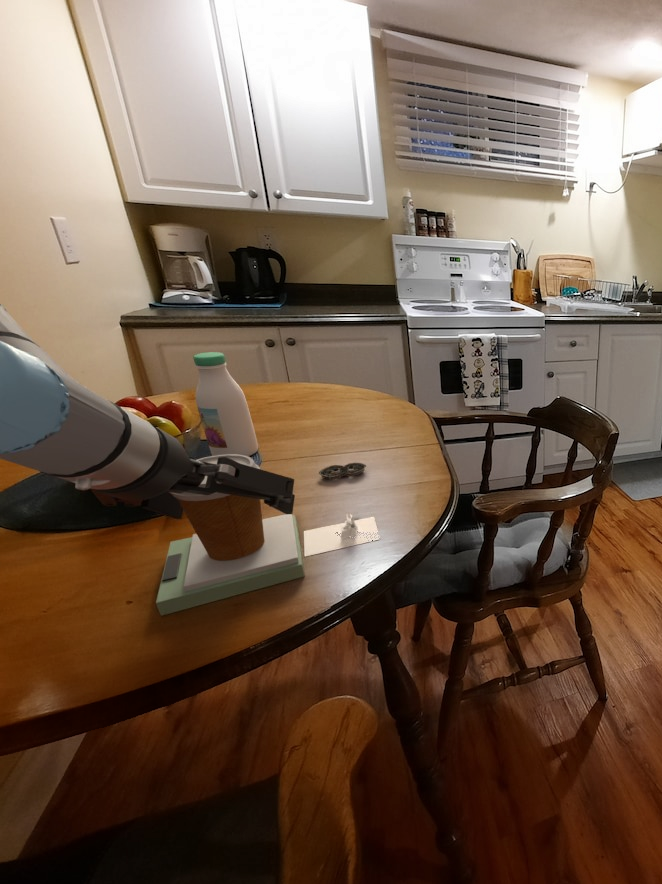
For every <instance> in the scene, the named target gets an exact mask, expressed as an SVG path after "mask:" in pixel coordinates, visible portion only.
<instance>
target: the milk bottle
mask: <svg viewBox="0 0 662 884" xmlns="http://www.w3.org/2000/svg"><path fill="white" fill-rule="evenodd" d="M192 359H193V362H194V365H195V368H196V369H197V370H198V381H197V385H196V389H195V404H196V407H197V411H198V414H199V418H200V422H201V425H202V429H203V432H204V435H205V437H206V441H207V444H208V445H207V446H208V448H209V452H210V454H211V456H216V455H225V454H239V455H245V456H248V457H250V456H252V455H254V454H256V453H257V452H258V450H259V442H258V439H257V436H256V432H255V427H254V424H253V420H252V417H251V413H250V409H249V405H248V402H247V399H246V396H245V393H244V391H243V389H242V388H241V386H240V385H239V384H238V383H237V382H236V380H235V379H234V378H233V376H232V375H231V374H230V372H229V371H228V369H227V365H228V363H227V360H226V357H225V354H224V353H223V352H219V351H210V352H209V351H207V352H200V353H197V354H195V355H193V357H192Z"/></svg>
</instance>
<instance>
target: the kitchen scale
mask: <svg viewBox="0 0 662 884" xmlns="http://www.w3.org/2000/svg"><path fill="white" fill-rule="evenodd" d="M262 522H263V531H264V540H265V541H264V544H263V545H262V546H261V547H260V548H259V549H258V550H257V551H255V552H253V553H252V554H250V555H247V556H245V557H242V558H239V559H235V560H228V561H217V560H213V559H211V558H210V557H209V555H208V553H207V551H206V550H205V548H204V546H203V544H202V543H201V541H200V539H199V537H198V535H197V534H196V533H193V534H192V536H191V537H186V538H181V539H177V540H173V541H170V542H169V546H168V550H167V555H166V558H165V563H164V567H163V571H162V577H161V579H160V584H159V588H158V592H157V596H156V600H155V605H156V607H157V610H158V612H159V614H160V616H161V617H162V616H165V615H169V614H173V613H177V612H180V611H184V610H187V609H192V608H195V607H198V606H203V605H206V604H209V603H213V602H216V601H221V600H224V599H227V598H230V597H231V598H232V597H235V596H238V595H242V594H246V593H249V592H253V591H257V590H260V589H263V588H267V587H271V586H275V585H278V584H282V583H285V582H290V581H292V580H296V579H300V578H304V577H305V576H306V575H305V567H304V561H303V554H302V548H301V546H302V545H301V541H300V535H299V534H300V533H299V526H298V522H297V518H296V514H293V513H292V514H285V513H284V514H280V515H277V516H272V517H267V518H262Z"/></svg>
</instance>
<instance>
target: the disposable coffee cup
mask: <svg viewBox="0 0 662 884" xmlns="http://www.w3.org/2000/svg"><path fill="white" fill-rule="evenodd" d="M220 457H227V458H230V459H232V460H234V461H236V462H238V463H240V464H243V465H247V466H250V467H254V468H257V469H261V468H260V465H258V464H256V462H255V461H254V459H253V457H250V456H245V455H239V454H225V455H216V456H212V455H209V456H206V457H202V458H198V459H196V460H197V461H202V462H207V463H212V464H217V461H218V458H220ZM206 481H207V476H205V478H204V480H203V481H202V483H201V484H200V486H199V487H203V488H205V486H206ZM170 493H171V494H173V496H174V497H176V498H177V500H178V501H179V503H180V505H181V507H182V509H183V513H184V514H185V515H186V518H187V519H188V521H189V523H190V525H191V527H192V528H193V530H194V532H195V534H197V535H198V537H199V539H200V541H201V543H202V544H203V546H204V548H205V550H206V551H207V553H208V555H209V557H210V558H211V559H213V560H217V561H228V560H235V559H239V558H242V557H245V556H247V555H250V554H252V553H253V552H255V551H257V550H258V549H259V548H260V547H261V546H262V545H263V544H264V541H265V540H264V531H263V522H262V519H263V513H262V503H261V499H256V498H249V497H243V496H236V495H230V494H223V493H217V492H216V493H213V494H211V495H201V494H195V493H188V492H183V493H172V492H170Z"/></svg>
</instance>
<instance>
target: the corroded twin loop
mask: <svg viewBox="0 0 662 884" xmlns="http://www.w3.org/2000/svg"><path fill="white" fill-rule="evenodd" d="M366 467H367V465H366V464H364V463H361V462H349V463H347V464H345V465H341V464H333V465H329V466H327V467H324V468H322V469H320V470H319V471H318V475H320V476H321V478H323V479H326V480H327V479H328V480H331V481H333V480H337V479H340V478H342V477H344V476H346V477H355V476H358V475H360V474H362V473H363V472H364V471H365V468H366ZM334 472H335V473H334Z"/></svg>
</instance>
